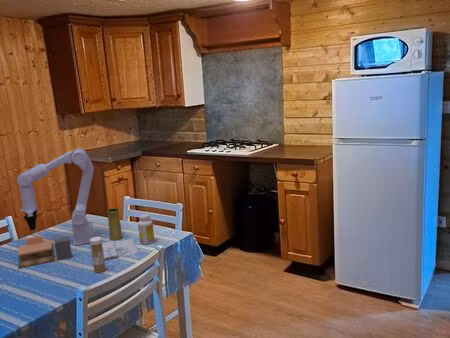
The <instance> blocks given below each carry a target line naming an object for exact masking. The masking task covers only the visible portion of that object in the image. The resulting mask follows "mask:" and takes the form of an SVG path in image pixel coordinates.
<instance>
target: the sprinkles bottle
mask: <svg viewBox="0 0 450 338" xmlns="http://www.w3.org/2000/svg"><path fill="white" fill-rule="evenodd" d="M102 243H103V239H102V237H100V236H95V237H94V238H91V239H90V243H89V245H91V246H90V249H92V253H91V259H92V265H93V272H94V273H96V274H97V273H102V272H105V270H106V265H105V260H104V254H103V247H102Z"/></svg>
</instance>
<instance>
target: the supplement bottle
mask: <svg viewBox="0 0 450 338" xmlns="http://www.w3.org/2000/svg"><path fill="white" fill-rule="evenodd" d="M138 217H139V221H138V223H137V228H138V236H139V243H140V244H141V245H151V244H152V243H154V242H155V231H154V224H153V223H154V222H153V221H152V219H150V218H151V215H150V214H148V213H143V214H141V215H139V216H138Z"/></svg>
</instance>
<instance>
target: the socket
mask: <svg viewBox="0 0 450 338" xmlns="http://www.w3.org/2000/svg"><path fill="white" fill-rule="evenodd" d="M51 245H52V250H48V251H43V252H38V253H33V254H28V255H23V256H19V255H18V269H24V268H28V267H33V266H38V265H42V264H49V263H52V262H55V250H54V244H53V243H51Z"/></svg>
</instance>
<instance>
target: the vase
mask: <svg viewBox="0 0 450 338" xmlns="http://www.w3.org/2000/svg"><path fill="white" fill-rule="evenodd" d="M106 211H107V220H108V221H107V223H108V229H109V230H108V231H109V240H110V241H114V242H117V241H121V239H123V238H124V237H123V232H122V225H121V219H120V211H119V208H116V207H115V208H109V209H107V210H106Z"/></svg>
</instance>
